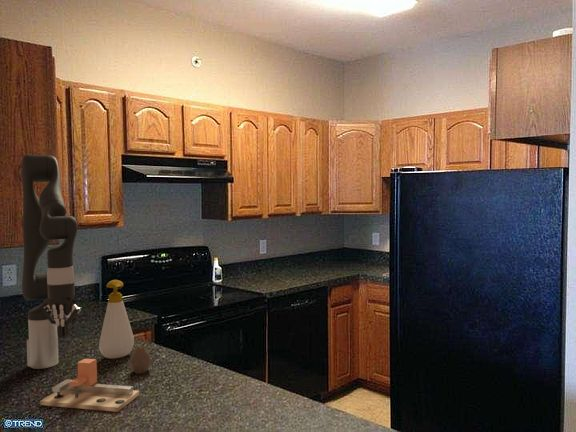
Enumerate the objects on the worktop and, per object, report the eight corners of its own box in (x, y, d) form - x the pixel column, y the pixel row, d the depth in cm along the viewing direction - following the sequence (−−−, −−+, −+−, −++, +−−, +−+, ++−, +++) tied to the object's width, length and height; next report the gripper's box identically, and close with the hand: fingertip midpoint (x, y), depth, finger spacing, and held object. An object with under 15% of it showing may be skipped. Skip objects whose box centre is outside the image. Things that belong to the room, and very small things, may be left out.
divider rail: (48, 397, 145) (48, 387, 145) (65, 387, 152) (65, 377, 152) (119, 403, 140) (118, 392, 140) (133, 393, 147) (132, 382, 147)
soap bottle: (103, 364, 176) (100, 284, 175) (96, 356, 185) (94, 280, 183) (139, 357, 183) (137, 280, 182) (131, 350, 192) (129, 276, 190)
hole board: (40, 404, 143) (40, 400, 143) (67, 388, 154) (66, 384, 154) (117, 411, 137) (117, 407, 137) (139, 394, 149) (139, 390, 149)
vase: (129, 376, 164) (129, 350, 164) (130, 369, 171) (130, 344, 171) (151, 373, 166) (150, 348, 166) (151, 367, 173) (150, 342, 172)
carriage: (68, 398, 143) (67, 368, 143) (85, 386, 152) (84, 358, 151) (80, 399, 142) (79, 368, 142) (97, 387, 151) (96, 359, 150)
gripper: (33, 283, 147) (35, 340, 148) (72, 284, 145) (74, 342, 145) (50, 279, 155) (52, 333, 155) (87, 279, 152) (89, 335, 153)
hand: (63, 337), depth 150 cm, fingers closed
